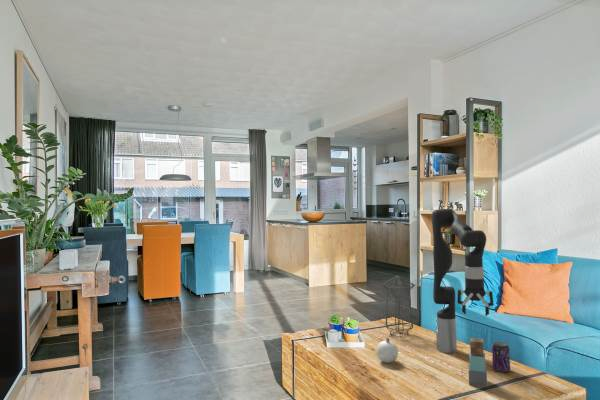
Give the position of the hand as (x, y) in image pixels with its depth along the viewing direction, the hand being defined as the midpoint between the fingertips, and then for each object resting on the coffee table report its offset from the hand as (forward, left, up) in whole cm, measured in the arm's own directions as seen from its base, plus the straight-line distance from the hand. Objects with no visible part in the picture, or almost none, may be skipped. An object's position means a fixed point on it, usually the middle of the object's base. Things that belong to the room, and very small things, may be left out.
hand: (475, 314), depth 179 cm
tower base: (+1, -1, -28) cm, 28 cm away
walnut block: (+1, -1, -16) cm, 16 cm away
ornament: (-38, -18, -29) cm, 51 cm away
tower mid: (+1, -1, -22) cm, 22 cm away
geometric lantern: (-70, +16, -29) cm, 77 cm away
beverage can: (-3, +19, -29) cm, 34 cm away
